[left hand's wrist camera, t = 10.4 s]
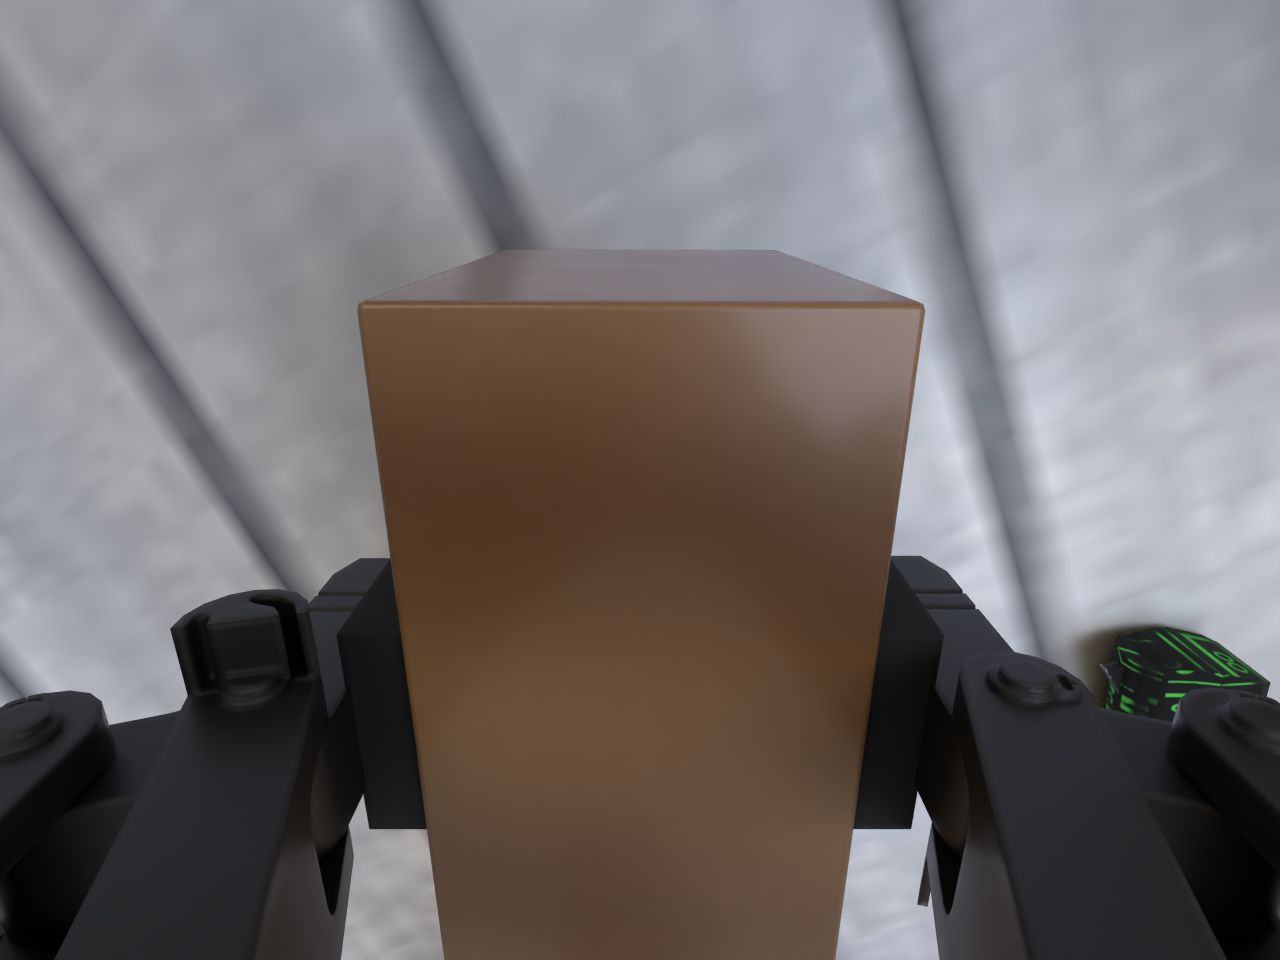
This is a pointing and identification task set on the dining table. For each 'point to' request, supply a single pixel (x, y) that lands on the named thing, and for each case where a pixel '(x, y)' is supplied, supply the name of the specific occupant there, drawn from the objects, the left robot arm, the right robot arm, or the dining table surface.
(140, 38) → the dining table surface
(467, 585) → the bar
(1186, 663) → the handgun
